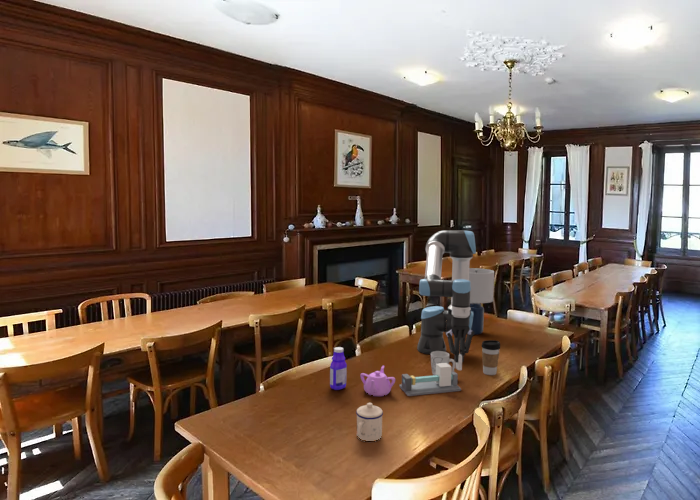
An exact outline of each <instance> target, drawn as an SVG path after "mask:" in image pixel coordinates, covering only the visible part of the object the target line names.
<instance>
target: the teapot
mask: <svg viewBox="0 0 700 500" xmlns="http://www.w3.org/2000/svg"><path fill="white" fill-rule="evenodd" d="M384 369H385V365H382V366H381V367H380V370H375V371H374V372H371V373H369V374H368V373H364V372H362V373H359V374H360V380H361V381H362V383H363V390H364V391H365V393H366V394H367V393H368V394H367V395H369V396H371V395H373V396H372V397H384V395H385V396H387V395H388V394H389V393H390V392H391V391H392V387H393V386H394V384H395V383H396V378H395V377H394V376H387V375H386V374H385V370H384ZM365 377H367V378H366V379H365Z"/></svg>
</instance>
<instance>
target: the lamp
mask: <svg viewBox="0 0 700 500" xmlns="http://www.w3.org/2000/svg"><path fill="white" fill-rule="evenodd" d="M494 278H495V271H494V270H493V269H492V270H491V269H489V268H488V269H486V268H478V267H476V268H474V267H469V281H470V283H471V292H470V308H471V311H472V312H473V322H472V327H471V330H472V331H474V332H475V333H474V335H475V336H477V335H481V334H483V332H484V318H485V315H484V313H485V308H484V306H482V304H489V303H493V301H494V285H495V284H494V283H495V282H494V281H495V279H494ZM474 335H473V336H474Z"/></svg>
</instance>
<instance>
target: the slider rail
mask: <svg viewBox="0 0 700 500" xmlns="http://www.w3.org/2000/svg"><path fill="white" fill-rule="evenodd" d="M458 376H459V375H458V373H457V372H456V371H454V372H451V386H442V387H440V386H439V383H436V382H435V381H439V375H433V374H432V375H424V376H423V375H422V376H415V375H409V374H408V373H402V374H401V384H399V388H400V389H401V390H402V391H403V392H404V394H405V396H407V397H414V396H423V395H432V394H433V395H434V394H442V393H454V392H460V391H462V388H461V387H460V386H459V385H458V381H459V379H458V378H459V377H458Z"/></svg>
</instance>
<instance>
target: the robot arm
mask: <svg viewBox="0 0 700 500" xmlns="http://www.w3.org/2000/svg"><path fill="white" fill-rule="evenodd" d="M476 250H477V248H476V238H475V233H474V232H473V231H471V230H463V229H462V230H457V229H456V230H453V229H452V230H450V229H449V230H444V229H443V230H439V231H437V232H435V233H434V234H432V235H431V236H430V237H429V238H428V240H427V242H426V244H425V253H426V261H425V269H424V270H425V271H424V272H425V273H424V278H422V279H421V278H420V280H419V287H418V291H419V292H418V293H419V295H420V296H426V297H441V298H442V297H443V298H444V297H445V298H451V300H450V304H449V306H448V307H447V309H445V308H444V307H443V306H439V305H435V306H427V307H425V308H423V309H422V310H421V316H420V319H421V322H420V323H421V324H420V337H419V339H418V341H417V342H418V343H417V349H416V350H417V351H418V352H419V353H422V354H426V355H431V352H434V351H443V352H447V345H446V342H445V340H444V339H445V338H444V335H445V336H446V338H447V342H448V348H449V352H450V353H451V354H453V358H454V359H453V360H454V361H455V362H456V365H455V369H456V370H457V371H462V370H463V362H465V356H466V354H469V351H470V348H471V343H472V340H473V336H474V333H475V332H474V331H472V330H471V327H472V322H473V312H472V311H471V308H470V292H471V283H470V281H469V268H470V262H471V260H472V259H473V257H474V254H477V251H476ZM445 253H446V254H449V258H450V259H452V263H451V264H452V268H451V269H452V270H451V271H452V272H451V279H448V280H447V279H442V270H443V269H442V266H443V255H444V254H445ZM453 338H454V339H453Z"/></svg>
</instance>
